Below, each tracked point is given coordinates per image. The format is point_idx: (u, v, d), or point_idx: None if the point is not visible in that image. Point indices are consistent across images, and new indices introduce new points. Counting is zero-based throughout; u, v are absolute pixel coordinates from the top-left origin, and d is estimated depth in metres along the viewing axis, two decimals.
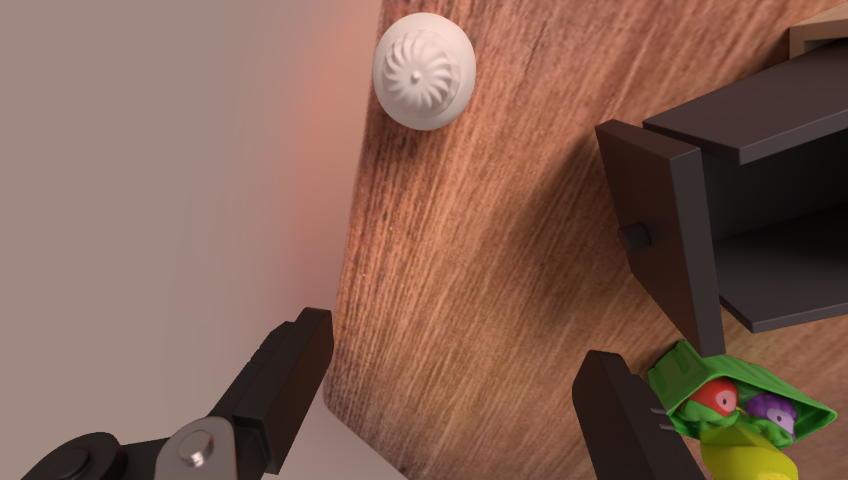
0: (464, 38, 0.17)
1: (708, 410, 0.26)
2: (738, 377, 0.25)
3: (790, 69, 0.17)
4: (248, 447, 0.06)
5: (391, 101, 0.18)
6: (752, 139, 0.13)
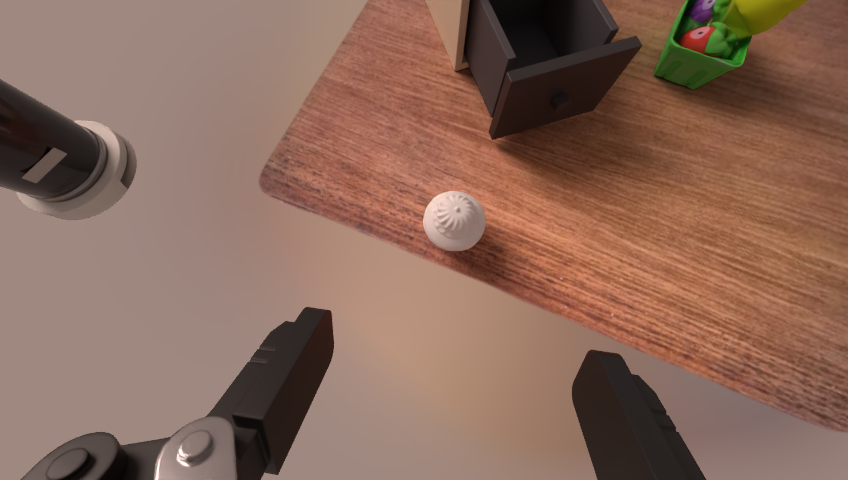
0: (439, 194, 0.31)
1: (711, 38, 0.34)
2: (673, 31, 0.35)
3: (474, 62, 0.36)
4: (248, 447, 0.06)
5: (467, 234, 0.29)
6: (504, 56, 0.29)
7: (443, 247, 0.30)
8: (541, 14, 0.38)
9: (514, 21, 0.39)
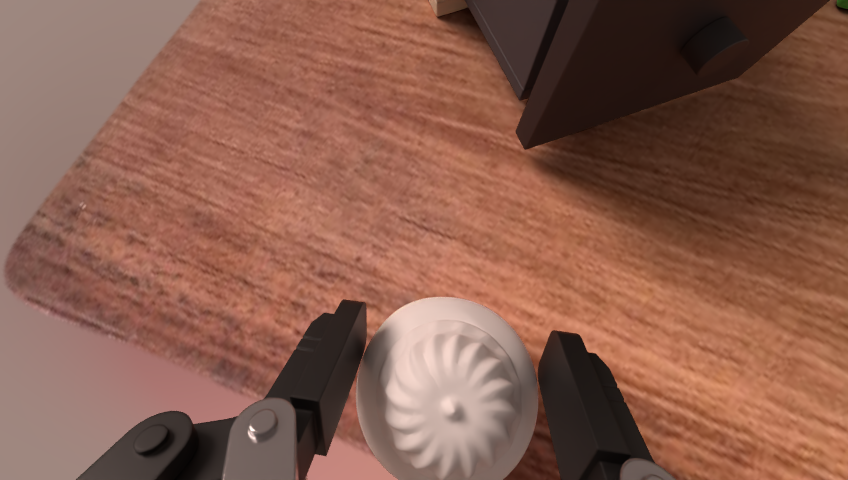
0: (401, 311, 0.11)
1: None
2: None
3: None
4: (306, 427, 0.07)
5: (488, 468, 0.09)
6: None
7: None
8: None
9: None
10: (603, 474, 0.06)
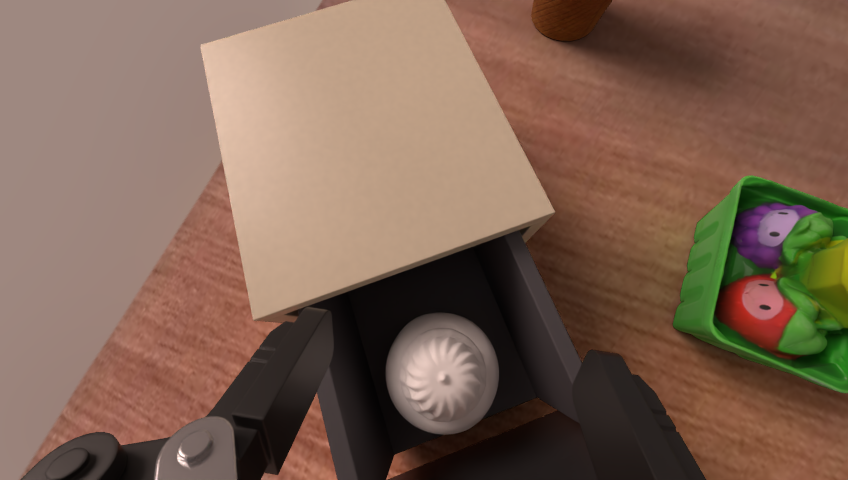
0: (414, 321, 0.17)
1: (790, 332, 0.17)
2: (712, 302, 0.18)
3: None
4: (248, 447, 0.06)
5: (464, 415, 0.15)
6: None
7: (421, 429, 0.16)
8: None
9: None
10: None
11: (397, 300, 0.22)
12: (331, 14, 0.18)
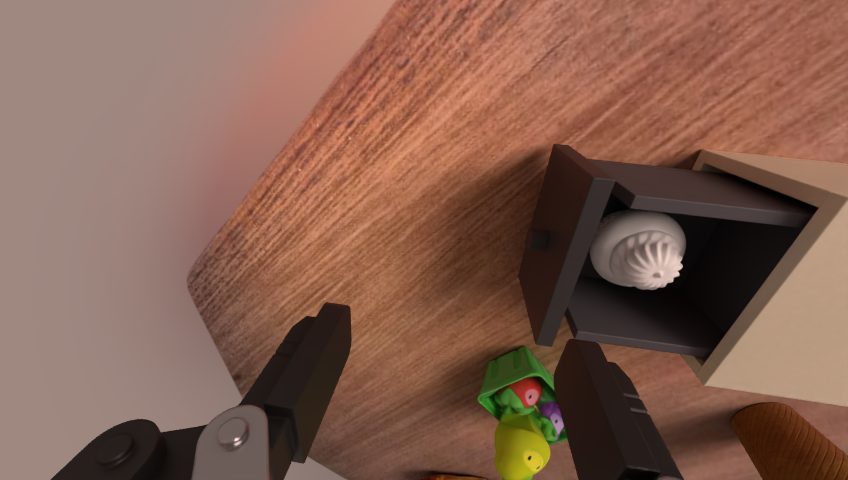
0: None
1: (516, 399, 0.32)
2: (547, 381, 0.32)
3: (685, 174, 0.23)
4: (280, 435, 0.07)
5: (613, 261, 0.22)
6: (645, 194, 0.18)
7: (615, 223, 0.22)
8: (679, 293, 0.27)
9: (700, 260, 0.26)
10: None
11: (684, 220, 0.25)
12: None
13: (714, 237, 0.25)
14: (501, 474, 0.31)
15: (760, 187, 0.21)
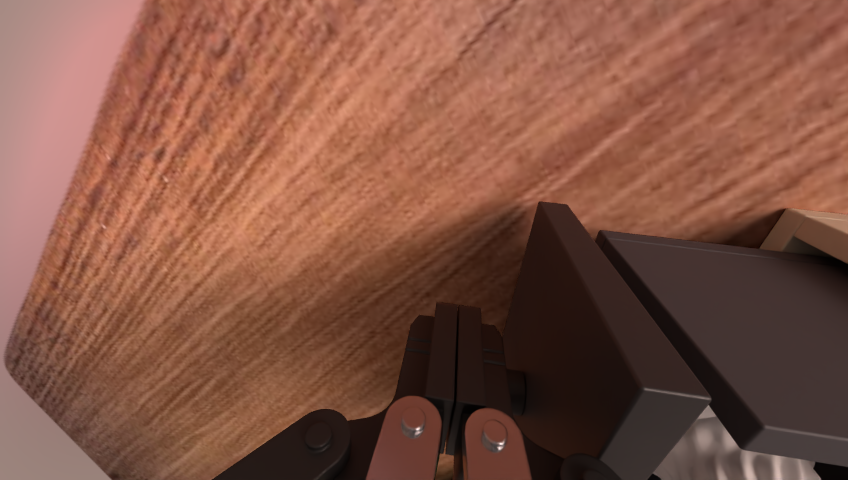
0: None
1: None
2: None
3: (806, 272, 0.11)
4: (442, 425, 0.07)
5: None
6: (787, 414, 0.06)
7: None
8: None
9: None
10: (461, 423, 0.07)
11: None
12: None
13: None
14: None
15: None
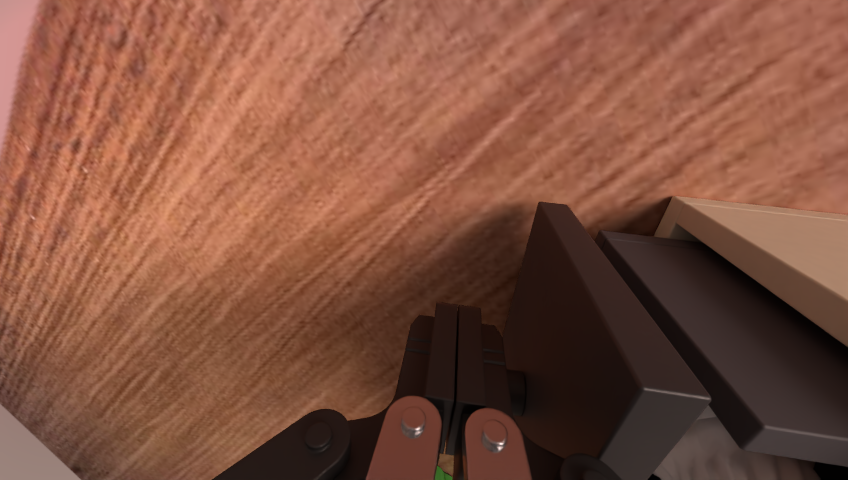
0: None
1: None
2: None
3: None
4: (442, 425, 0.07)
5: (661, 462, 0.10)
6: (787, 414, 0.06)
7: None
8: None
9: None
10: (461, 423, 0.07)
11: None
12: None
13: None
14: None
15: None
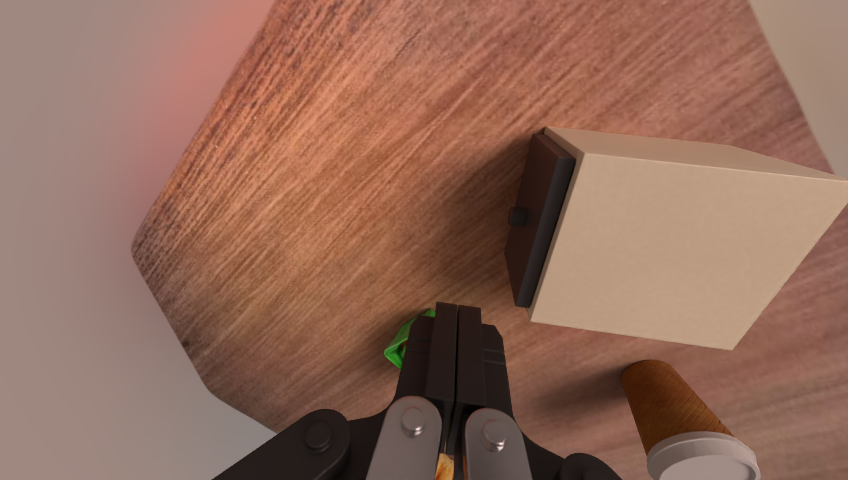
0: None
1: None
2: None
3: None
4: (442, 425, 0.07)
5: None
6: None
7: None
8: None
9: None
10: (461, 423, 0.07)
11: None
12: (773, 285, 0.22)
13: None
14: None
15: None
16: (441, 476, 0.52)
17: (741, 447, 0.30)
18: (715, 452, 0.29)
